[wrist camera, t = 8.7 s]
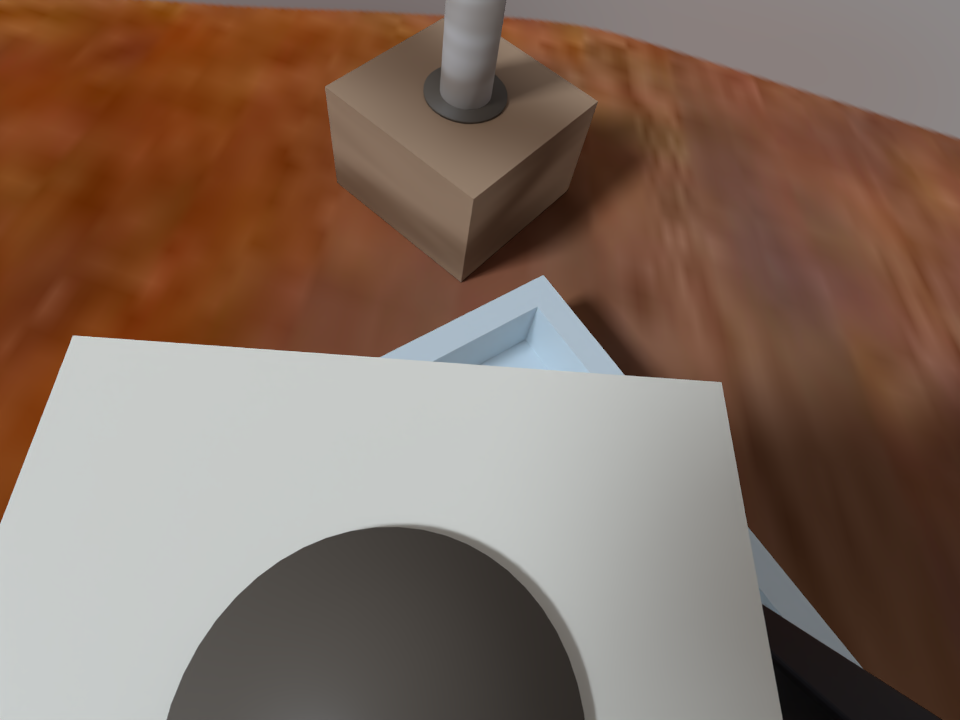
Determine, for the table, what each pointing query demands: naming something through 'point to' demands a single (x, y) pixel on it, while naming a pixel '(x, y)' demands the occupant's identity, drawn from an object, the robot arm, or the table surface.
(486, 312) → the tray
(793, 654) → the robot arm
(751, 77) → the table surface
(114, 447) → the bored block
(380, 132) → the wood block with post
